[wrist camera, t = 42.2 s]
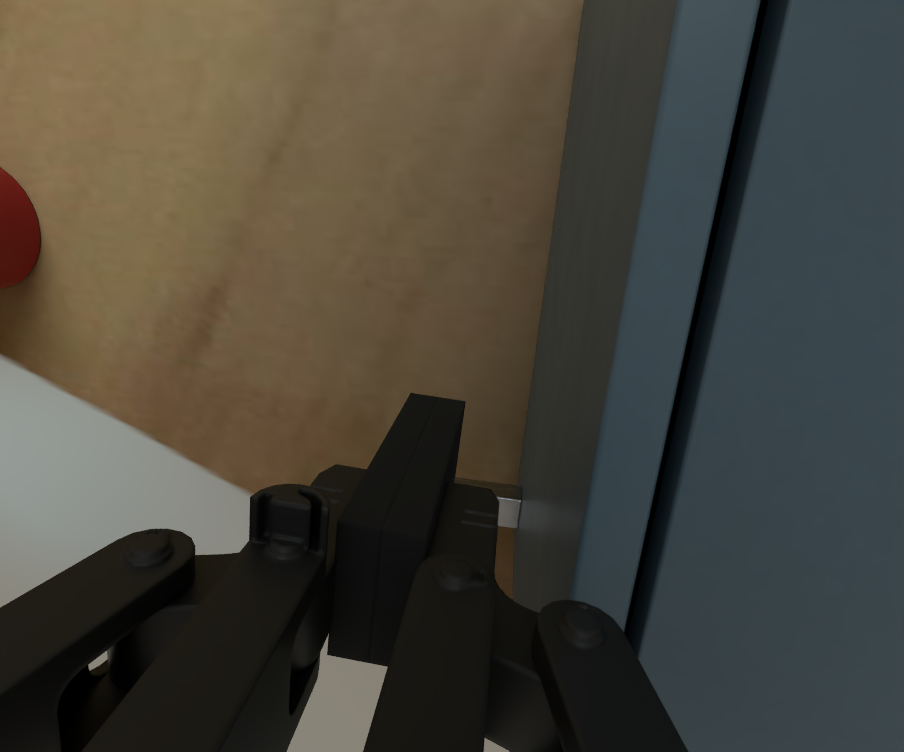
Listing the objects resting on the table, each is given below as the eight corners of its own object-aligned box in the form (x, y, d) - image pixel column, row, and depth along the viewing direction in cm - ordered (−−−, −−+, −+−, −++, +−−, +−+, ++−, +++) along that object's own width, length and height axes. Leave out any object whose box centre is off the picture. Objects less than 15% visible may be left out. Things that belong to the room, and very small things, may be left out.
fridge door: (417, 494, 31) (268, 914, 13) (458, -12, 24) (260, -691, 6) (533, 510, 31) (552, 972, 12) (609, -2, 24) (917, -712, 5)
